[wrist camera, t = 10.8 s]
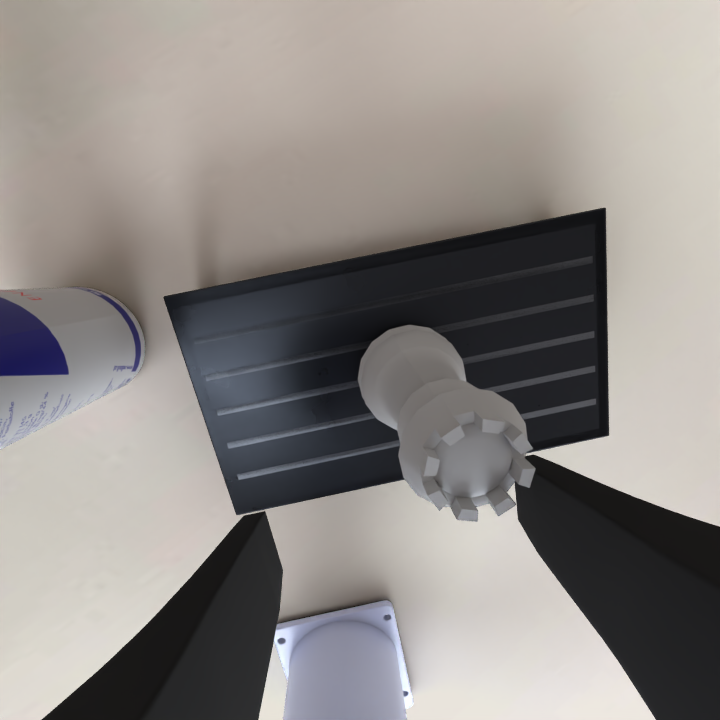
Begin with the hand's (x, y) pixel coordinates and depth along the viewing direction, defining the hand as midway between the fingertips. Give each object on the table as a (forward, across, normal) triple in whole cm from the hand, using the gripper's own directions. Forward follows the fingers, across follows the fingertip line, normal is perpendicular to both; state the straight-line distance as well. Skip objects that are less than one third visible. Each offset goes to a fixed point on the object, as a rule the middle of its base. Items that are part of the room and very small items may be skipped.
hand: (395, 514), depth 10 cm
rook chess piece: (+6, -2, -2) cm, 7 cm away
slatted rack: (+10, -2, -2) cm, 10 cm away
